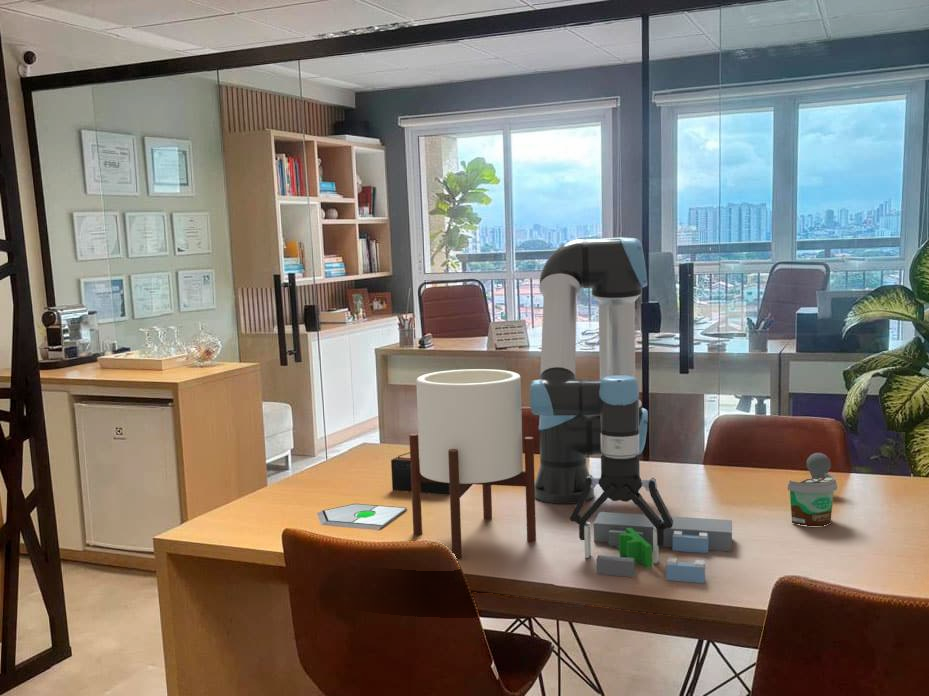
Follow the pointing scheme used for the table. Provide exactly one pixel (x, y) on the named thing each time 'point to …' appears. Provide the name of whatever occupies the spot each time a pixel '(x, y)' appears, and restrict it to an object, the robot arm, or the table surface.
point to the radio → (403, 478)
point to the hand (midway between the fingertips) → (621, 558)
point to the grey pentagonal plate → (360, 516)
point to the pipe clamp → (635, 547)
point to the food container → (812, 500)
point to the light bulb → (818, 465)
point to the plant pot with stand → (470, 441)
